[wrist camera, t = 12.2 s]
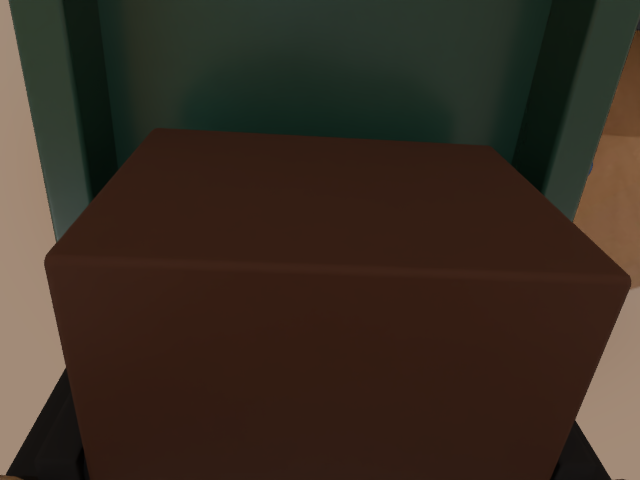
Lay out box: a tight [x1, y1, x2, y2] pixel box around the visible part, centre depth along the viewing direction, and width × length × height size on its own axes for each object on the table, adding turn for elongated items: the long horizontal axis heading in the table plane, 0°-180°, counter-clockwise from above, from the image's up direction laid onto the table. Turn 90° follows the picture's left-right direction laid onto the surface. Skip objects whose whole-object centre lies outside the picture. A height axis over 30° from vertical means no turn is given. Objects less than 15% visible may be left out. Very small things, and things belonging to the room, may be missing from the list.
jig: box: [9, 0, 640, 243], centre depth 10 cm, size 20×10×2 cm, turn 176°
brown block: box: [44, 128, 631, 480], centre depth 9 cm, size 6×9×4 cm, turn 176°
